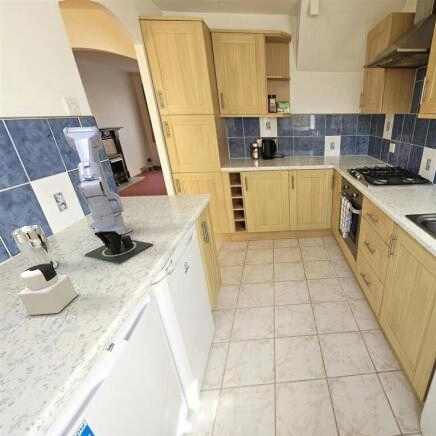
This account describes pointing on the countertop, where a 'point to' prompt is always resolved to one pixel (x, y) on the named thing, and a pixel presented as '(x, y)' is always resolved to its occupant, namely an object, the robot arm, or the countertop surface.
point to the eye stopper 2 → (127, 241)
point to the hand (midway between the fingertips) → (114, 248)
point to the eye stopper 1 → (113, 249)
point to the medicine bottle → (46, 290)
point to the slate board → (121, 256)
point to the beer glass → (33, 245)
